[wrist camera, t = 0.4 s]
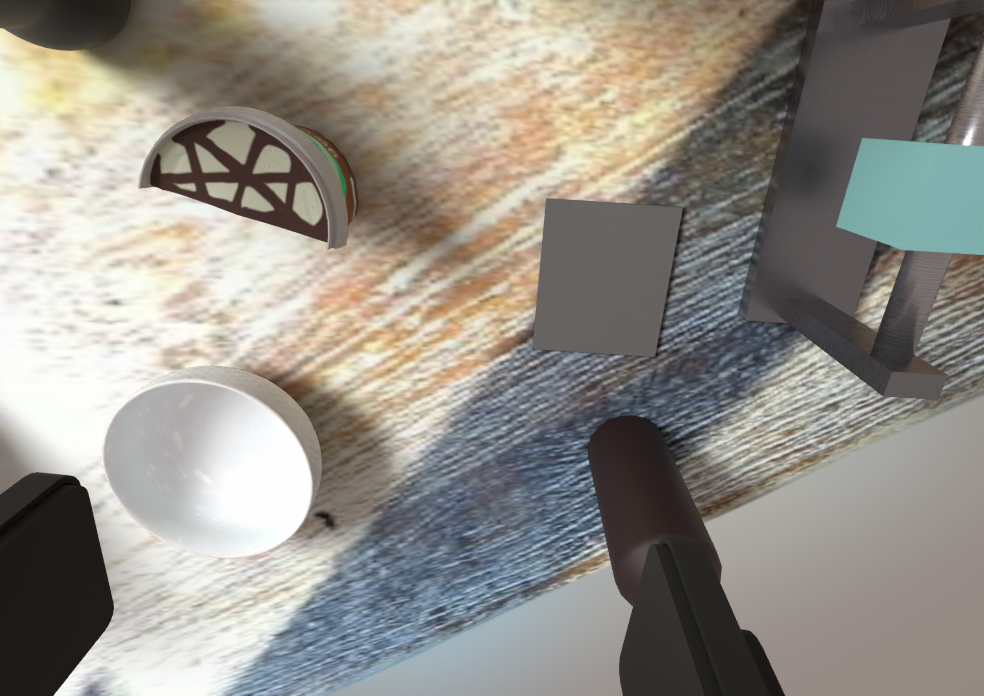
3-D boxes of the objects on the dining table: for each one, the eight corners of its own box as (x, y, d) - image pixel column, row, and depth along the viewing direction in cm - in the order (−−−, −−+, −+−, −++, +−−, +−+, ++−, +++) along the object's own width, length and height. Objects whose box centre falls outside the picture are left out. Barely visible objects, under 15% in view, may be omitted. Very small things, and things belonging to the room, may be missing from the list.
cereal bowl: (314, 527, 54) (287, 583, 48) (143, 474, 53) (91, 525, 46) (359, 381, 48) (335, 424, 41) (166, 316, 46) (109, 349, 40)
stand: (816, -10, 36) (998, -83, 22) (942, -3, 36) (1200, -72, 22) (737, 314, 44) (834, 401, 31) (838, 320, 44) (979, 410, 31)
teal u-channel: (862, 138, 32) (939, 143, 26) (968, 144, 32) (1069, 151, 26) (835, 226, 34) (902, 249, 28) (936, 232, 33) (1023, 257, 28)
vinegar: (594, 484, 51) (639, 694, 33) (580, 421, 49) (621, 610, 30) (668, 471, 50) (758, 678, 32) (658, 406, 48) (750, 591, 29)
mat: (546, 198, 41) (546, 199, 41) (681, 206, 41) (682, 207, 41) (532, 347, 46) (532, 348, 46) (653, 355, 46) (654, 356, 45)
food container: (394, 140, 40) (359, 148, 31) (375, 222, 42) (336, 252, 33) (224, 81, 39) (135, 72, 30) (214, 168, 41) (128, 185, 32)
